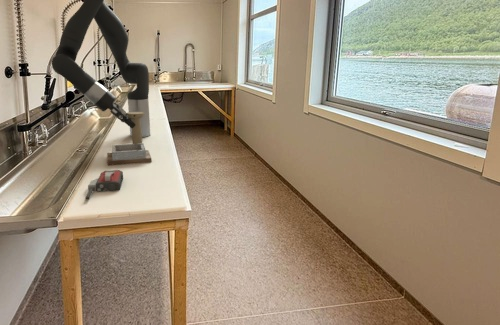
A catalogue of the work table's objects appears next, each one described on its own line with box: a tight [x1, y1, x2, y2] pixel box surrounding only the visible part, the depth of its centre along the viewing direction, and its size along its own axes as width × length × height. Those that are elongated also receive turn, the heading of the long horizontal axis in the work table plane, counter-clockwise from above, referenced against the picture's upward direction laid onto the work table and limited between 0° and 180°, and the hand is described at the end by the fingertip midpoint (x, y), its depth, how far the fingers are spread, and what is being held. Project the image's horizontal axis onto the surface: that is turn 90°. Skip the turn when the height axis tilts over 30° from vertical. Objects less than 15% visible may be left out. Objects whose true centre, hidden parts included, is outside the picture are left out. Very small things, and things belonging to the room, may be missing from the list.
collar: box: [111, 142, 147, 161], centre depth 139 cm, size 11×11×3 cm
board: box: [106, 149, 153, 166], centre depth 140 cm, size 12×15×2 cm
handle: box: [126, 111, 144, 144], centre depth 152 cm, size 5×6×15 cm
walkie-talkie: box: [85, 169, 124, 201], centre depth 110 cm, size 9×4×20 cm
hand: (133, 124), depth 151 cm, fingers open, 8 cm apart
